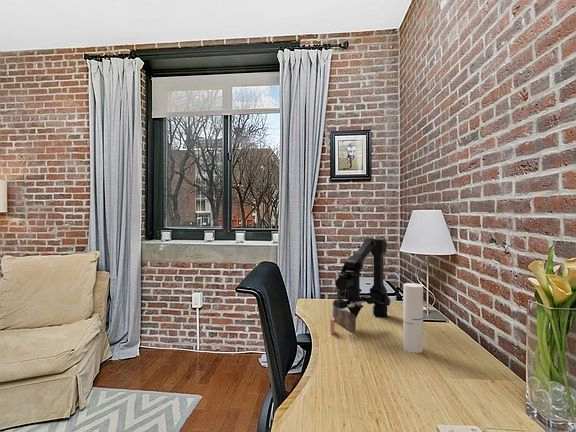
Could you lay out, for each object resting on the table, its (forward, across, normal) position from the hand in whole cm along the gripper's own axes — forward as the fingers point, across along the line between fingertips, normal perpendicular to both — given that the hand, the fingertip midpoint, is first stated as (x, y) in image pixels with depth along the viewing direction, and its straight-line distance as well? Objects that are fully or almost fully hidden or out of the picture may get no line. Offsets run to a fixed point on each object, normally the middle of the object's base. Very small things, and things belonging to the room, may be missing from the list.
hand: (354, 320), depth 150 cm
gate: (+3, +3, -3) cm, 5 cm away
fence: (+4, +6, -9) cm, 11 cm away
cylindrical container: (+4, -8, +28) cm, 30 cm away
